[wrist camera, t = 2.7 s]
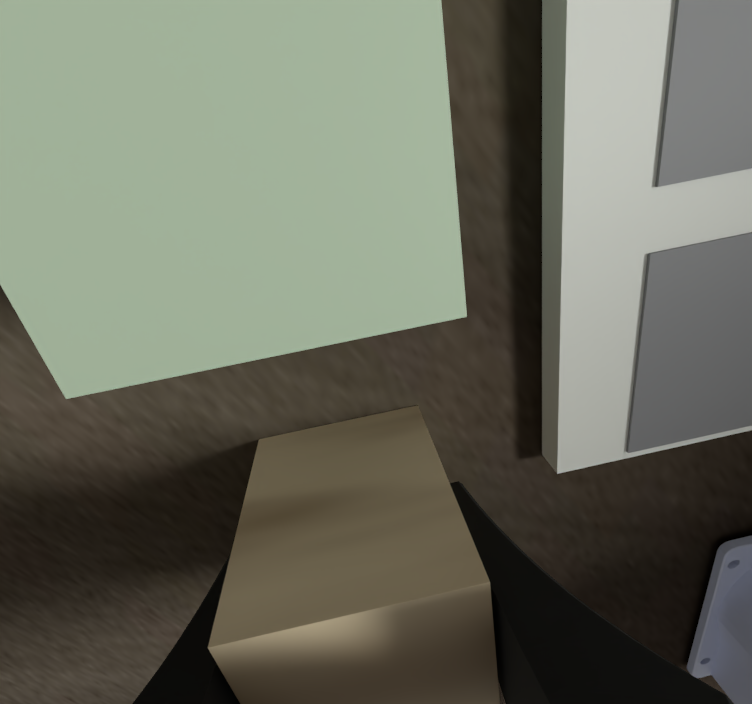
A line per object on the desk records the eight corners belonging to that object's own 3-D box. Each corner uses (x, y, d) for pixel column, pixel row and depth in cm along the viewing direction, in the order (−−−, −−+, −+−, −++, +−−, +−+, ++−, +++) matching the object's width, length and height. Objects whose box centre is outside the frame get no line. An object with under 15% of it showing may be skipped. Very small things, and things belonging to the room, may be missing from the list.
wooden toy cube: (435, 520, 15) (502, 726, 9) (299, 551, 14) (284, 780, 9) (417, 405, 13) (490, 581, 7) (259, 439, 12) (207, 647, 7)
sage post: (392, 243, 10) (466, 316, 5) (202, 280, 10) (65, 399, 5) (356, 4, 8) (414, -310, 3) (118, 45, 8) (-285, -208, 3)
